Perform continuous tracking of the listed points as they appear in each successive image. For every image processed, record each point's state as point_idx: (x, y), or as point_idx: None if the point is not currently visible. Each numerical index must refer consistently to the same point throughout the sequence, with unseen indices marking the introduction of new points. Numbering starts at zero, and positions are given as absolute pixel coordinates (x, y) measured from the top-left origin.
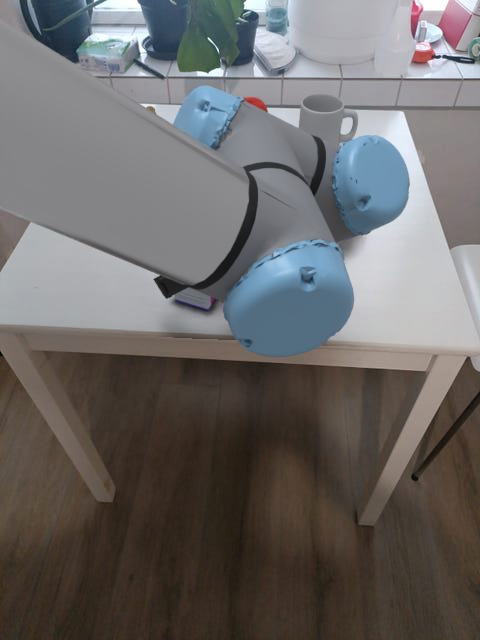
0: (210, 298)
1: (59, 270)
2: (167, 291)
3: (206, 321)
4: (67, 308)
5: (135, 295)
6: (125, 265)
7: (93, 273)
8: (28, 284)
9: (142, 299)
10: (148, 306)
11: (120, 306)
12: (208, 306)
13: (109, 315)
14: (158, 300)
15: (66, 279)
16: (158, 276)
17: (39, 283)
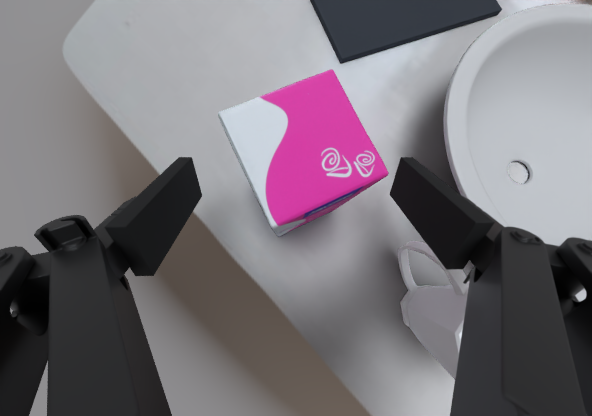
0: (286, 232)
1: (172, 17)
2: (12, 309)
3: (261, 251)
4: (130, 85)
5: (218, 131)
6: (249, 71)
7: (203, 53)
8: (123, 12)
9: (220, 144)
10: (217, 162)
11: (187, 133)
12: (278, 236)
13: (163, 137)
14: (237, 163)
15: (167, 38)
16: (172, 167)
17: (135, 20)
